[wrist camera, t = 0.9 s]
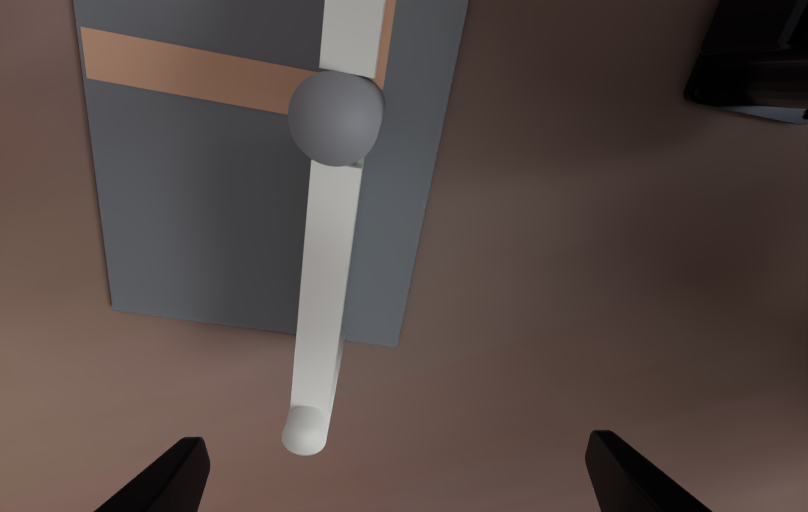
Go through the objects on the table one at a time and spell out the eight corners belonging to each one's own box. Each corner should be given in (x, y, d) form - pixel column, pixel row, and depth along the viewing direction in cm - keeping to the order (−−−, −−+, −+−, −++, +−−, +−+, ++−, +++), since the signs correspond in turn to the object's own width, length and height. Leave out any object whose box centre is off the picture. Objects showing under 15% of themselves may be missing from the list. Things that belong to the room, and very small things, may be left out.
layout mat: (522, -269, 14) (527, -280, 13) (397, 343, 24) (397, 348, 24) (29, -410, 12) (17, -427, 12) (117, 306, 23) (112, 311, 22)
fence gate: (334, 135, 18) (302, 164, 12) (373, 142, 19) (362, 175, 12) (312, 347, 23) (280, 452, 17) (343, 351, 23) (323, 457, 17)
